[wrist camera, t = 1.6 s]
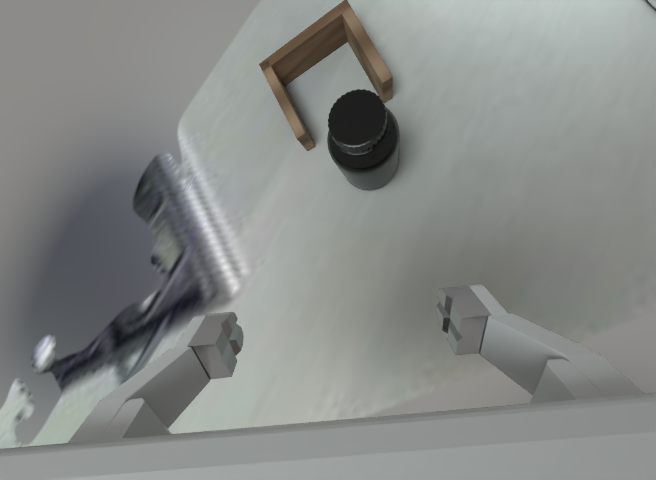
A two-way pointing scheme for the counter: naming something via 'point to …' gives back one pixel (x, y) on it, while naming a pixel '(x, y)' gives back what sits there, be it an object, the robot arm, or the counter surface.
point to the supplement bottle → (363, 139)
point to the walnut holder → (313, 49)
